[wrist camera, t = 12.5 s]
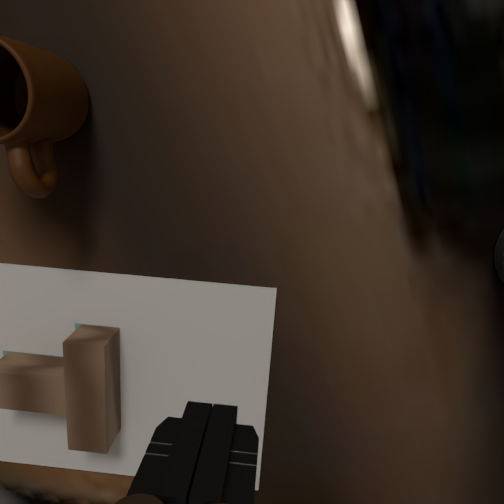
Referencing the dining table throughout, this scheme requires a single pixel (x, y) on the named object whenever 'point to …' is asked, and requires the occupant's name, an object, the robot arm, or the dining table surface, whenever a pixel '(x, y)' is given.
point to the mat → (137, 354)
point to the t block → (71, 386)
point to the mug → (37, 112)
